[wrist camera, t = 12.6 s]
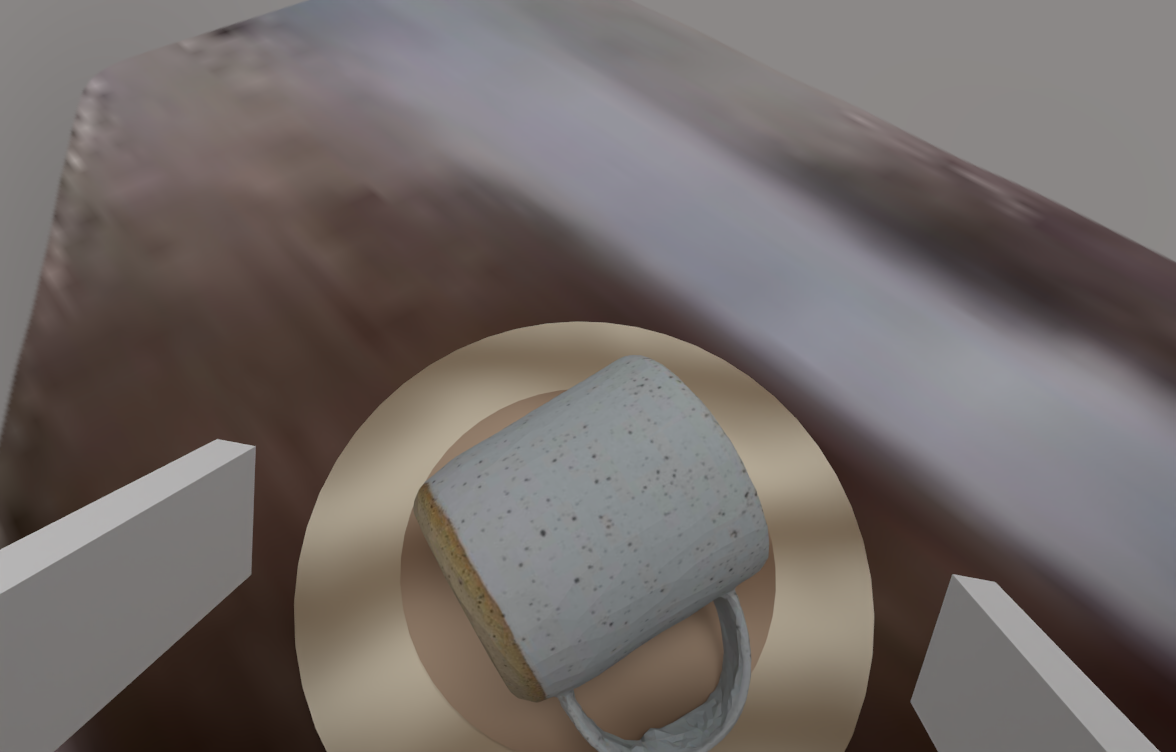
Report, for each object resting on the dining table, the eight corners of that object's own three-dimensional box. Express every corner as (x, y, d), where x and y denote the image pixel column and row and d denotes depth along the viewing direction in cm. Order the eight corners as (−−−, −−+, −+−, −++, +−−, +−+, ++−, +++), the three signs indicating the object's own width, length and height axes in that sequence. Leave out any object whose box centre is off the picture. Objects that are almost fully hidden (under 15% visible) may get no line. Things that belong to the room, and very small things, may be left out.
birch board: (948, 820, 21) (986, 824, 19) (302, 984, 18) (275, 1008, 16) (754, 320, 31) (767, 292, 29) (316, 376, 28) (300, 349, 26)
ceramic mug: (419, 533, 23) (370, 442, 16) (611, 420, 25) (637, 302, 19) (590, 840, 19) (618, 889, 12) (797, 667, 21) (914, 629, 15)
